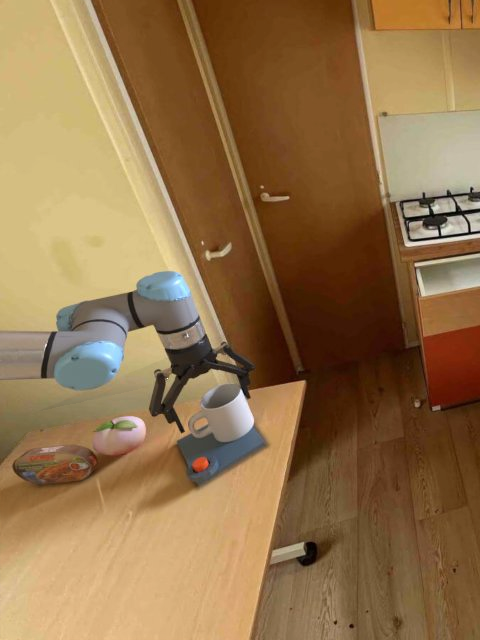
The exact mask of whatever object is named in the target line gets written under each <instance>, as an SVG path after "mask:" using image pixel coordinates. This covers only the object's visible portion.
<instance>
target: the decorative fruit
mask: <svg viewBox="0 0 480 640" xmlns="http://www.w3.org/2000/svg"><path fill="white" fill-rule="evenodd" d="M92 432H93V433H95V434H94V436H93V439H92V447H93V450H94V451H95V452H96V453H98V454H101V455H105V456H106V455H107V456H119V455H122V454H129V453H132V451H135V450H136V449H137V448H139V447H140V446H141V445H142V444H143V442H144V441H145V439H146V436H147V427H146V424H145V422H144V420H143V419H141V418H140V417H137V416H133V415H125V416H120V417H116V418H114V419H112V420H110V421H106V422H103V423H101V424H99V425H98V426H96V427H95V428H94V429H93V431H92Z"/></svg>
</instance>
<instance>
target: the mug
mask: <svg viewBox="0 0 480 640" xmlns="http://www.w3.org/2000/svg"><path fill="white" fill-rule="evenodd" d="M199 406H200V411H197V412H196V413H195V414H193V415H192V416H191V417H190V418H189V420H188V422H187V427H188V430H189V432H190V434H192V435H193V436H195V437H196V438H202V437H205V436H207V435H209V434H211V433H213V435H214V437H215V439H216V440H218V441H220V442H231V441H234V440H237V439H239V438H241V437H243V436H244V435H245V434H247V433H248V432H249V431H250V430H251V428H252V427H253V426H254V424H255V418H254V415H253V413H252V411H251V409H250V406H249V404H248V401H247V398H246V397H245V395H244V393H243V391H242V388H241V386H240V384H238V383H232V382H227V383H223V384H219V385H217V386H214V387H213V388H211V389H210V390H208V391H207V392H206V393H204V394H203V395H202V397H201V398H200V401H199ZM204 418H205V420H206V422H207V424H209V426H208V427H207V428H206V429H204V430H203V431H200V432H198V431H196V430H197V429H196V428H195V424H196V423H197V422H198V421H200V420H202V419H204Z"/></svg>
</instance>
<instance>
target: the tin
mask: <svg viewBox="0 0 480 640" xmlns="http://www.w3.org/2000/svg"><path fill="white" fill-rule="evenodd" d="M98 465H99V460H98V457H97V455H96V454H95V453H94V451H92V449H90V448H88V447H86V446H82V445H79V444H78V445H77V444H67V445H56V446H55V445H54V446H42V447H34V448H30V449H28V450H27V451H25V452H24V453H23V454H22V455H20V456H19V457H18V458H16V459H15V460H13V462H12V465H11V467H12V471H13V473H14V474H15V475H16V476H17V477H18V478H19V479H21V480H24V481H26V482H29V483H31V484H35V485H36V484H37V485H46V484H56V483H57V484H58V483H66V482H67V483H69V482H78V481H83V480H85V479H87V478H89V476H90V475H91V474H92V473H93V472H94V471H95V469H97V467H98Z"/></svg>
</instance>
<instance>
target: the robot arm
mask: <svg viewBox="0 0 480 640" xmlns="http://www.w3.org/2000/svg"><path fill="white" fill-rule="evenodd" d="M135 287H136V289H134V290H132V291H128V292H123V293H119V294H114V295H109V296H104V297H100V298H95V299H91V300H83V301H80V302H78V303H75V304H70V305H66V306H63V307H62V308H60V309H59V310H57V313H56V315H55V319H56V321H55V325H56V329H57V331H55V330H53V331H52V330H2V329H0V381H17V380H19V381H20V380H44V379H45V380H47V379H48V380H49V379H52V380H53V379H54V380H55V382H56V383H57V385H59V386H61V387H63V388H67V389H70V390H72V391H89V390H94V389H97V388H100V387H103V386H104V385H107V384H108V383H110V381H112V380H113V379H114V378H115V377H116V375H117V374H118V372H119V369H120V367H121V363H122V362H123V361H124V357H125V354H124V352H125V346H126V341H127V338H128V334H129V332H133V331H137V330H141V329H144V328H147V327H151V326H153V327H154V329H155V332H156V334H157V336H158V338H159V340H160V343H161V345H162V347H163V348H164V352H165V354H166V356H167V358H168V360H169V362H170V367H168V368H165V369H162V370H161V368H157V369H155V370H154V372H153V374H154V378H155V381H154V386H153V390H152V394H151V397H150V402H149V406H148V411H149V414H150V415H151V417H153V418H155V417H157V416H158V415H163V416H164V418H165V419H166V422H167V424H169V425H170V424H173V423H175V424H176V426H177V428H178V431H179V433H180V434H181V435H182V434H183V433H186V430H185V427H184V426H183V424H182V422H181V419H180V418H179V416H178V414H177V411H176V409H175V408H174V405H175V403H176V402H177V399H178V397H179V396H180V394H181V392H182V391H183V389H184V387H185V386H186V385H187V384H188V382H189V380H191V379H192V380H194V379H196V378H198V377H199V376H202V375H205V374H208V373H210V372H209V371H210V370H213V371H221V372H226V373H230V374H232V375H236V379H237V381H238V383H239V386H240V387H241V388H242V391H243V393H244V396H245V398H246V401H247V400H250V399H251V394H250V392H249V389H248V386H250V385H251V384H252V382H251V379H250V377H249V376H250V374H249V373H250V372H251V371H254V370H255V369H256V366H255V365H254V363H253V362H252V361H251V360H249V359H248V358H247V357H245V356H243V355H242V354H239V352H237V351H236V350H234V349H232V347H231V346H230V345H229V343H228V342H227V341H222V342H221V343H220V345H219V346H218V347H216V348H214V347H212V344H211V341H210V339H209V336H208V334H207V333H206V329H205V326H204V323H203V321H202V319H201V316H200V314H199V311H198V307H197V306H196V303H195V300H194V297H193V294H192V292H191V288H189V286H188V284H187V281H186V279H185V277H184V276H183V274H181V273H180V272H178V271H173V270H165V271H164V270H163V271H158V272H154V273H152V274H149V275H145V276H143V277H142V278H141V279H139V280H138V281H137V283H136V285H135ZM219 354H221V355H222V356H228V357H229V358H230V359H231V360H233V361H235V362H236V363H238V364H239V365H237V364H233V363H230V362H226V361H222V360H219V359H217V357H218V355H219ZM240 365H241V366H240ZM172 374H173V375H175V377H174V381H173V382H172V384H171V386H170V387H169V389H168V391H167V393H166V394H165V391H166V385H167V381H168V380H169V378H170V376H171V375H172ZM164 394H165V396H164Z"/></svg>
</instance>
